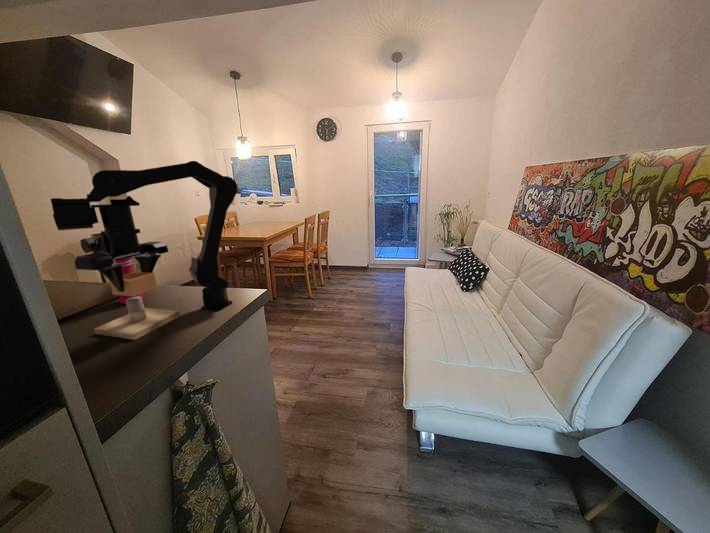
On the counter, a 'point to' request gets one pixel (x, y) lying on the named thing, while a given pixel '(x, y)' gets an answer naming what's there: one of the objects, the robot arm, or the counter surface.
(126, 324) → the duct base
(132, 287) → the open square box
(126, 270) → the pepper mill
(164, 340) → the counter surface
